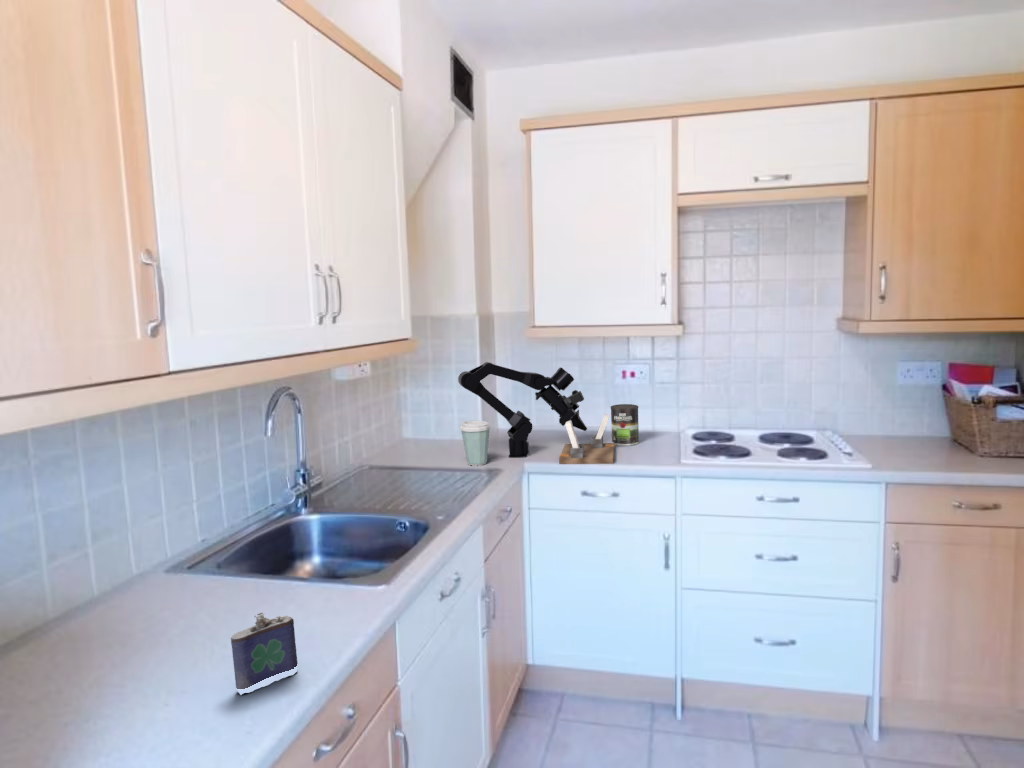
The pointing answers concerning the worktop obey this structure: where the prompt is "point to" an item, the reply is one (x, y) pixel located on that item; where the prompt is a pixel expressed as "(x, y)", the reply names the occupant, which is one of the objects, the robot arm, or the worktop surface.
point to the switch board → (588, 453)
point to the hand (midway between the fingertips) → (586, 429)
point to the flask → (263, 650)
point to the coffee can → (624, 424)
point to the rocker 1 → (572, 434)
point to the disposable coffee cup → (475, 441)
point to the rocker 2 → (602, 426)
